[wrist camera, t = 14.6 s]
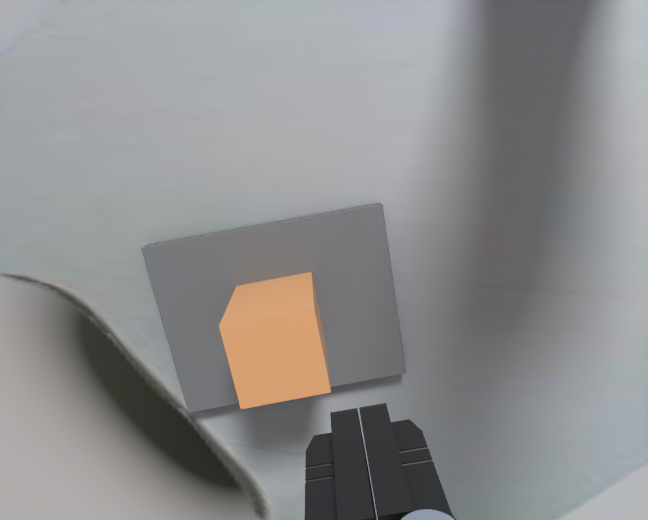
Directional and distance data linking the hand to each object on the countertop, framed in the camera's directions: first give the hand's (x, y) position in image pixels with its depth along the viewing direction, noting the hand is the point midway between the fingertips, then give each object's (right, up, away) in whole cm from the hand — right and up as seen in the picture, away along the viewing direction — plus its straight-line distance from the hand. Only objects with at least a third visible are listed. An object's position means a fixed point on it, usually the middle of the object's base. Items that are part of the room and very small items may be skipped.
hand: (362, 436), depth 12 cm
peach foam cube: (-4, +1, +23) cm, 24 cm away
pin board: (-4, +1, +24) cm, 25 cm away
